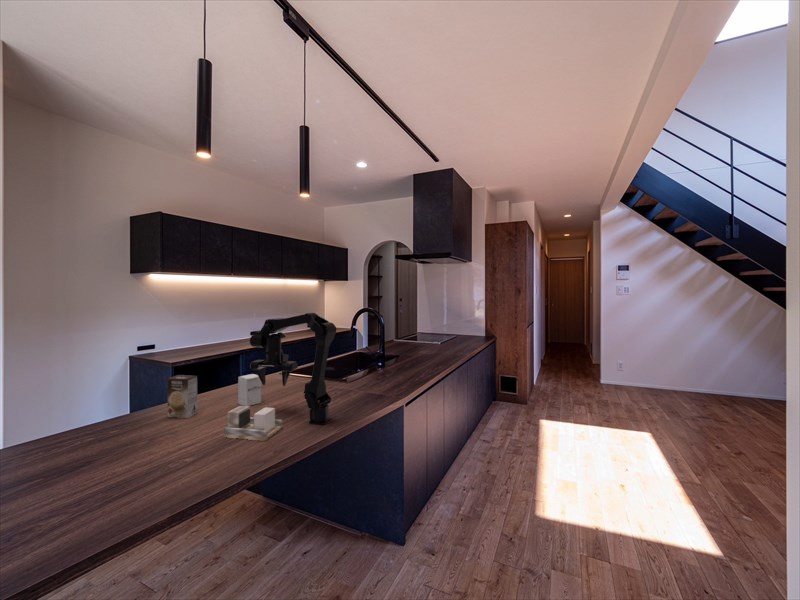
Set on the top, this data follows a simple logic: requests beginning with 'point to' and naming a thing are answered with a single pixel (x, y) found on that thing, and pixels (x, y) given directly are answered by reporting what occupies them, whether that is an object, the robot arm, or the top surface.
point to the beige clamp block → (247, 426)
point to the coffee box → (182, 396)
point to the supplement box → (249, 390)
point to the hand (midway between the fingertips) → (274, 385)
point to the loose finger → (264, 419)
